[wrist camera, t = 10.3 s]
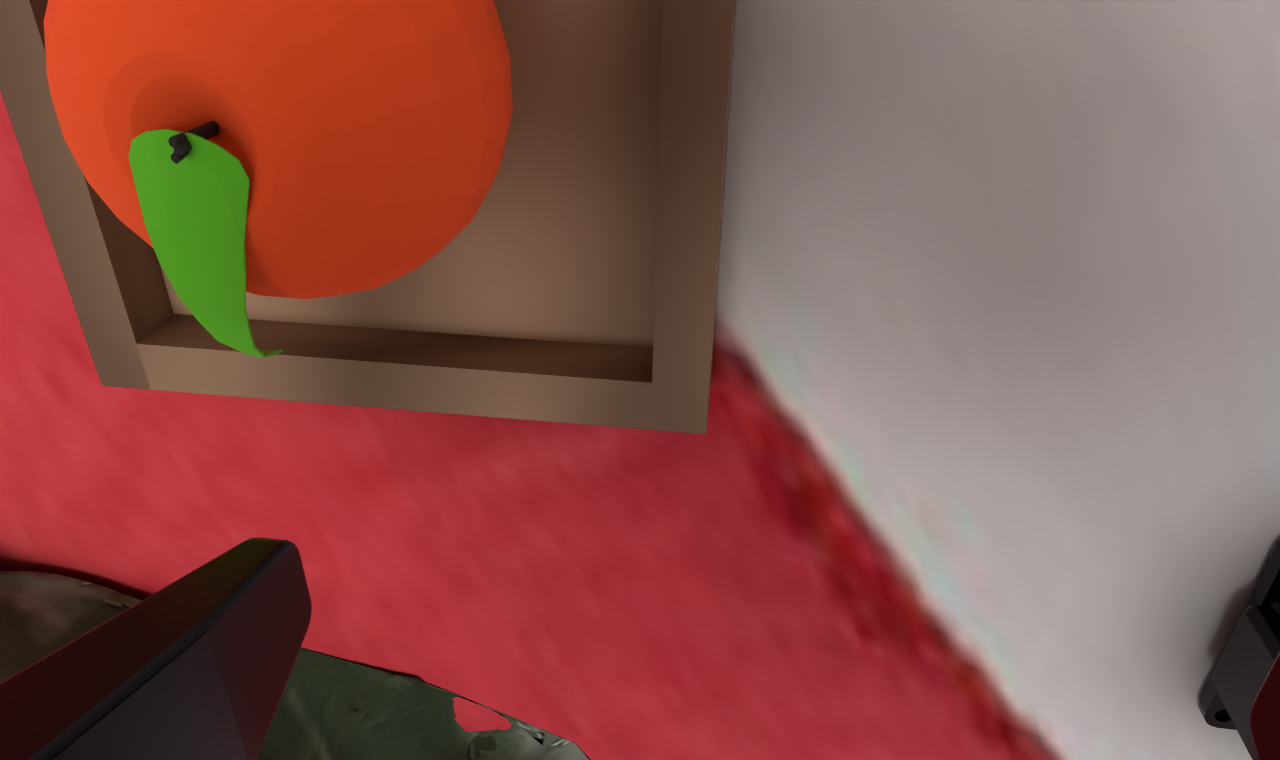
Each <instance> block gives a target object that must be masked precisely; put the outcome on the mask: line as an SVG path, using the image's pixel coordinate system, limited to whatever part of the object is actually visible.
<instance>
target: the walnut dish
mask: <svg viewBox="0 0 1280 760" xmlns="http://www.w3.org/2000/svg"><path fill="white" fill-rule="evenodd" d="M493 1H494V4H495V7H496V10H497V14H498V17H499V21H500V24H501V27H502V31H503V34H504V38H505V41H506V44H507V48H508V51H509V54H510V62H511V84H512V105H513V112H512V116H511V121H510V125H509V130H508V135H507V139H506V144H505V148H504V153H503V158H502V161H501V164H500V166H499V169H498V172H497V175H496V178H495V180H494V182H493V183H492V185H491V187H490V189H489V191H488V193H487V194H486V196H485V198H484V200H483V202H482V204H481V205H480V207H479V209H478V211H477V213H476V215H475V216H474V218H473V220H472V221H471V222H470V223H469V224H468V225H467V226H466V227H465V228H464V229H463V230H462V231H461V232H460V233H459V234H458V235H457V236H456V237H455V238H454V239H453V240H451V241H450V242H449V243H448V244H447V245H446V246H445V247H444V248H443V249H442V250H441V251H440V252H439V253H438V254H436V255H435V256H434V257H432V258H431V259H429V260H428V261H427V262H425V263H424V264H423V265H421V266H420V267H419V268H417V269H415V270H413V271H411V272H409V273H407V274H405V275H403V276H401V277H399V278H397V279H395V280H393V281H391V282H389V283H387V284H385V285H383V286H381V287H379V288H375V289H369V290H364V291H358V292H353V293H347V294H342V295H336V296H329V297H321V298H312V299H296V298H283V297H271V296H259V295H256V294H253V293H250V292H246V311H247V316H248V321H249V326H250V330H251V333H252V337H253V341H254V344H255V347H256V348H258V349H259V350H260V351H269V350H280V349H283V352H281V353H278V354H275V355H272V356H270V357H267V358H261V357H256V356H251V355H247V354H245V353H243V352H240V351H238V350H236V349H234V348H232V347H229V346H227V345H225V344H223V343H220V342H218V341H217V340H216V339H215V338H214V337H213V336H212V335H211V334H210V333H209V332H208V331H207V330H206V329H205V328H204V327H203V326H202V325H201V324H200V323H199V321H198V320H197V319H196V318H195V317H194V315H193V314H192V313H191V312H190V310H189V309H188V308H187V307H186V305H185V304H184V303H183V302H182V300H181V299H180V298H179V297H178V295H177V293H176V291H175V290H174V288H173V286H172V284H171V283H170V281H169V279H168V277H167V275H166V274H165V272H164V270H163V268H162V267H161V265H160V263H159V261H158V258H157V255H156V253H155V250H154V248H152V247H151V246H150V245H149V244H148V243H146V242H145V241H144V240H143V239H142V238H140V237H139V236H138V235H137V234H136V233H134V232H133V231H132V230H131V229H130V228H128V227H127V226H126V225H125V224H124V223H123V222H121V221H120V220H119V219H118V218H117V217H116V216H115V214H114V213H113V212H112V211H111V210H110V208H109V207H108V206H107V205H106V203H105V202H104V201H103V200H102V199H101V197H100V196H99V195H98V194H97V193H96V191H95V190H94V189H93V188H92V187H91V185H90V184H89V183H88V182H87V180H86V178H85V176H84V174H83V173H82V171H81V169H80V167H79V165H78V163H77V162H76V160H75V158H74V156H73V154H72V153H71V151H70V149H69V147H68V145H67V144H66V142H65V140H64V137H63V134H62V130H61V127H60V124H59V121H58V117H57V114H56V111H55V108H54V104H53V101H52V98H51V94H50V89H49V84H48V78H47V67H46V51H45V35H44V17H45V12H46V8H47V3H48V0H0V91H1V94H2V97H3V100H4V103H5V106H6V109H7V111H8V114H9V117H10V120H11V123H12V126H13V129H14V132H15V135H16V138H17V140H18V143H19V146H20V149H21V152H22V155H23V158H24V161H25V164H26V167H27V170H28V172H29V175H30V178H31V181H32V184H33V187H34V190H35V193H36V196H37V199H38V201H39V204H40V207H41V210H42V213H43V216H44V219H45V222H46V225H47V228H48V231H49V233H50V236H51V239H52V242H53V245H54V248H55V251H56V254H57V257H58V260H59V262H60V265H61V268H62V271H63V274H64V277H65V280H66V283H67V286H68V289H69V292H70V294H71V297H72V300H73V303H74V306H75V309H76V312H77V315H78V318H79V321H80V324H81V326H82V329H83V332H84V335H85V338H86V341H87V344H88V347H89V350H90V353H91V355H92V358H93V361H94V364H95V367H96V370H97V373H98V376H99V379H100V382H101V385H102V386H114V387H126V388H138V389H151V390H163V391H176V392H188V393H200V394H213V395H225V396H238V397H250V398H262V399H275V400H287V401H300V402H312V403H324V404H337V405H349V406H362V407H374V408H387V409H399V410H411V411H424V412H436V413H449V414H461V415H473V416H486V417H498V418H511V419H523V420H535V421H548V422H560V423H573V424H585V425H597V426H610V427H622V428H635V429H647V430H660V431H672V432H684V433H697V434H706V427H707V417H708V407H709V397H710V387H711V373H712V358H713V343H714V328H715V313H716V298H717V283H718V268H719V252H720V237H721V222H722V207H723V192H724V177H725V162H726V147H727V132H728V117H729V102H730V87H731V71H732V56H733V41H734V26H735V11H736V0H493Z"/></svg>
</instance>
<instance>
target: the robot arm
mask: <svg viewBox="0 0 1280 760" xmlns="http://www.w3.org/2000/svg"><path fill="white" fill-rule="evenodd" d="M310 619H311V599H310V595H309V590H308V586H307V582H306V578H305V574H304V570H303V565H302V561H301V557H300V553H299V551H298V548H297V547H296V546H295V544H294V543H293V542H290V541H288V540H280V539H270V538H260V537H258V538H251V539H248V540H246V541H244V542H242V543H240V544H239V545H237V546H235V547H234V548H232V549H230V550H228V551H227V552H225V553H223V554H222V555H220V556H218V557H216V558H215V559H213V560H211V561H209V562H208V563H206V564H204V565H203V566H201V567H199V568H197V569H196V570H194V571H192V572H191V573H189V574H187V575H185V576H184V577H182V578H180V579H178V580H177V581H175V582H173V583H172V584H170V585H168V586H166V587H165V588H163V589H161V590H160V591H158V592H156V593H154V594H153V595H151V596H149V597H147V598H146V599H144V600H142V601H141V602H139V603H137V604H135V605H134V606H132V607H130V608H129V609H127V610H125V611H123V612H122V613H120V614H118V615H116V616H115V617H113V618H111V619H110V620H108V621H106V622H104V623H103V624H101V625H99V626H98V627H96V628H94V629H92V630H91V631H89V632H87V633H85V634H84V635H82V636H80V637H79V638H77V639H75V640H73V641H72V642H70V643H68V644H67V645H65V646H63V647H61V648H60V649H58V650H56V651H54V652H53V653H51V654H49V655H48V656H46V657H44V658H42V659H41V660H39V661H37V662H36V663H34V664H32V665H30V666H29V667H27V668H25V669H23V670H22V671H20V672H18V673H17V674H15V675H13V676H11V677H10V678H8V679H6V680H5V681H3V682H1V683H0V760H257V758H258V755H259V753H260V751H261V748H262V746H263V743H264V741H265V738H266V735H267V733H268V730H269V728H270V725H271V722H272V720H273V717H274V715H275V712H276V710H277V707H278V704H279V702H280V699H281V697H282V694H283V691H284V689H285V686H286V684H287V681H288V679H289V676H290V673H291V671H292V668H293V666H294V663H295V661H296V658H297V655H298V653H299V650H300V648H301V645H302V642H303V640H304V637H305V635H306V632H307V629H308V626H309V623H310ZM1198 707H1199V709H1200V711H1201V713H1202V715H1203V717H1204V719H1205V721H1206V723H1208V724H1209V725H1211V726H1213V727H1217V728H1225V729H1235V730H1237V731H1238V733H1239V735H1240V736H1241V738H1242V740H1243V742H1244V744H1245V746H1246V748H1247V750H1248V752H1249V754H1250V755H1251V757H1252V759H1253V760H1280V544H1279V545H1278V546H1277V547H1276V549H1275V551H1274V553H1273V555H1272V557H1271V559H1270V561H1269V563H1268V565H1267V567H1266V569H1265V571H1264V573H1263V575H1262V577H1261V579H1260V581H1259V583H1258V585H1257V587H1256V589H1255V591H1254V593H1253V595H1252V597H1251V599H1250V601H1249V603H1248V605H1247V607H1246V609H1245V611H1244V612H1243V613H1242V614H1241V616H1240V618H1239V620H1238V622H1237V624H1236V626H1235V628H1234V630H1233V632H1232V634H1231V636H1230V638H1229V640H1228V642H1227V644H1226V646H1225V648H1224V650H1223V652H1222V654H1221V656H1220V658H1219V660H1218V662H1217V664H1216V666H1215V668H1214V670H1213V672H1212V674H1211V679H1210V681H1209V683H1208V685H1207V687H1206V689H1205V691H1204V693H1203V695H1202V697H1201V699H1200V701H1199V705H1198Z"/></svg>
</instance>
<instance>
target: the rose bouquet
mask: <svg viewBox="0 0 1280 760" xmlns="http://www.w3.org/2000/svg"><path fill="white" fill-rule="evenodd" d="M141 601H142V600H140V599H137V598H135V597H132V596H129V595H125V594H122V593H120V592H117V591H115V590H112V589H110V588H107V587H105V586H101V585H98V584H94V583H91V582H87V581H84V580H81V579H77V578H72V577H66V576H63V575H59V574H52V573H44V572H35V571H0V683H1V682H3V681H5V680H6V679H8V678H10V677H11V676H13V675H15V674H17V673H18V672H20V671H22V670H23V669H25V668H27V667H29V666H30V665H32V664H34V663H36V662H37V661H39V660H41V659H42V658H44V657H46V656H48V655H49V654H51V653H53V652H54V651H56V650H58V649H60V648H61V647H63V646H65V645H67V644H68V643H70V642H72V641H73V640H75V639H77V638H79V637H80V636H82V635H84V634H85V633H87V632H89V631H91V630H92V629H94V628H96V627H98V626H99V625H101V624H103V623H104V622H106V621H108V620H110V619H111V618H113V617H115V616H116V615H118V614H120V613H122V612H123V611H125V610H127V609H129V608H130V607H132V606H134V605H135V604H137V603H139V602H141ZM455 697H460V698H463V699H466V698H464V697H461V696H459V695H457V694H454V693H452V692H449V691H447V690H444V689H442V688H439V687H436V686H434V685H431V684H427V683H424V682H423V681H422V680H420V679H418V678H416V677H411V676H405V675H399V674H394V673H390V672H386V671H382V670H379V669H375V668H371V667H367V666H363V665H360V664H356V663H352V662H348V661H345V660H341V659H338V658H334V657H331V656H327V655H324V654H320V653H316V652H313V651H309V650H306V649H302V648H300V650H299V653H298V655H297V658H296V661H295V663H294V666H293V668H292V671H291V673H290V676H289V679H288V681H287V684H286V686H285V689H284V691H283V694H282V697H281V699H280V702H279V704H278V707H277V710H276V712H275V715H274V717H273V720H272V722H271V725H270V728H269V730H268V733H267V735H266V738H265V741H264V743H263V746H262V748H261V751H260V753H259V755H258V758H257V760H589V759H588V758H587V757H586V755H585V754H584V753H583V752H582V751H581V750H580V748H579V747H578V746H577V745H576V744H575V743H573V742H571V741H569V740H566V739H564V738H561V737H559V736H556V735H554V734H551V733H549V732H547V731H544V730H542V729H539V728H537V727H534V726H532V725H530V724H527V723H525V722H522V721H520V720H517V719H515V718H512V717H510V716H508V715H505V714H503V713H500V712H498V711H495V710H493V709H491V710H493V711H495V712H496V713H498V714H500V715H502V716H503V717H505V718H506V719H507V720H508V721H509V722H510V723H511V724H512V726H511V727H510V729H507V730H498V729H496V730H491V731H474V732H471V733H469V732H466V731H465V730H464V729H463V728H461V726H460V725H459V724H458V723H457V722H456V720H455V719H454V718H455V717H456V716H455V714H454V707H453V699H452V698H455ZM466 700H469V699H466ZM469 701H471V700H469ZM471 702H474V701H471ZM474 703H476V702H474ZM476 704H478V703H476ZM478 705H481V704H478ZM481 706H483V705H481ZM483 707H486V706H483ZM486 708H488V707H486ZM488 709H490V708H488Z"/></svg>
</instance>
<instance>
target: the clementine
mask: <svg viewBox="0 0 1280 760" xmlns="http://www.w3.org/2000/svg"><path fill="white" fill-rule="evenodd" d="M44 35H45V51H46V67H47V78H48V84H49V89H50V94H51V98H52V101H53V104H54V108H55V111H56V114H57V117H58V121H59V124H60V127H61V130H62V134H63V137H64V140H65V142H66V144H67V145H68V147H69V149H70V151H71V153H72V154H73V156H74V158H75V160H76V162H77V163H78V165H79V167H80V169H81V171H82V173H83V174H84V176H85V178H86V180H87V182H88V183H89V184H90V185H91V187H92V188H93V189H94V190H95V191H96V193H97V194H98V195H99V196H100V197H101V199H102V200H103V201H104V202H105V203H106V205H107V206H108V207H109V208H110V210H111V211H112V212H113V213H114V214H115V216H116V217H117V218H118V219H119V220H120V221H121V222H123V223H124V224H125V225H126V226H127V227H128V228H130V229H131V230H132V231H133V232H134V233H136V234H137V235H138V236H139V237H140V238H142V239H143V240H144V241H145V242H146V243H148V244H149V245H150V246H151V247H152V248H154V250H155V253H156V255H157V258H158V261H159V263H160V265H161V267H162V268H163V270H164V272H165V274H166V275H167V277H168V279H169V281H170V283H171V284H172V286H173V288H174V290H175V291H176V293H177V295H178V297H179V298H180V299H181V300H182V302H183V303H184V304H185V305H186V307H187V308H188V309H189V310H190V312H191V313H192V314H193V315H194V317H195V318H196V319H197V320H198V321H199V323H200V324H201V325H202V326H203V327H204V328H205V329H206V330H207V331H208V332H209V333H210V334H211V335H212V336H213V337H214V338H215V339H216V340H217V341H218V342H220V343H223V344H225V345H227V346H229V347H232V348H234V349H236V350H238V351H240V352H243V353H245V354H247V355H251V356H256V357H261V358H267V357H270V356H272V355H275V354H278V353H281V352H283V349H280V350H269V351H260V350H259V349H258V348H256V347H255V344H254V341H253V337H252V333H251V330H250V326H249V321H248V316H247V311H246V292H250V293H253V294H256V295H259V296H271V297H283V298H296V299H312V298H321V297H329V296H336V295H342V294H347V293H353V292H358V291H364V290H369V289H375V288H379V287H381V286H383V285H385V284H387V283H389V282H391V281H393V280H395V279H397V278H399V277H401V276H403V275H405V274H407V273H409V272H411V271H413V270H415V269H417V268H419V267H420V266H421V265H423V264H424V263H425V262H427V261H428V260H429V259H431V258H432V257H434V256H435V255H436V254H438V253H439V252H440V251H441V250H442V249H443V248H444V247H445V246H446V245H447V244H448V243H449V242H450V241H451V240H453V239H454V238H455V237H456V236H457V235H458V234H459V233H460V232H461V231H462V230H463V229H464V228H465V227H466V226H467V225H468V224H469V223H470V222H471V221H472V220H473V218H474V216H475V215H476V213H477V211H478V209H479V207H480V205H481V204H482V202H483V200H484V198H485V196H486V194H487V193H488V191H489V189H490V187H491V185H492V183H493V182H494V180H495V178H496V175H497V172H498V169H499V166H500V164H501V161H502V158H503V153H504V148H505V144H506V139H507V135H508V130H509V125H510V121H511V116H512V112H513V105H512V84H511V62H510V54H509V51H508V48H507V44H506V41H505V38H504V34H503V31H502V27H501V24H500V21H499V17H498V14H497V10H496V7H495V4H494V1H493V0H48V3H47V8H46V12H45V17H44Z"/></svg>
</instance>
